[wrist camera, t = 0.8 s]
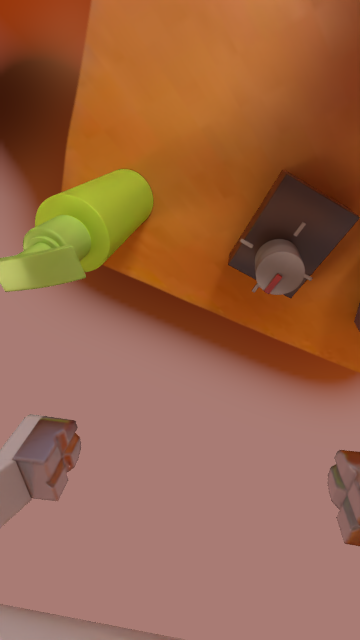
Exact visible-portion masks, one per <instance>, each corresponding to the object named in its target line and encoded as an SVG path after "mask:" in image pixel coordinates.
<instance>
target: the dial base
mask: <svg viewBox="0 0 360 640" xmlns="http://www.w3.org/2000/svg"><path fill="white" fill-rule="evenodd" d="M359 218H360V217H359V216H358V215H356V214H355V213H354V212H353V211H352V210H351V209H349V208H347V207H346V206H344V205H342V204H341V203H339V202H337V201H336V200H334V199H332V198H331V197H329V196H327V195H325V194H324V193H322V192H320V191H319V190H317V189H315V188H314V187H312V186H310V185H309V184H307V183H305V182H304V181H302V180H300V179H299V178H297V177H295V176H294V175H292V174H290V173H289V172H287V171H285V170H282V172H281V173H280V175H279V177H278V178H277V180H276V181H275V183H274V184H273V186H272V188H271V189H270V191H269V192H268V194H267V196H266V197H265V199H264V200H263V202H262V203H261V205H260V207H259V208H258V210H257V211H256V213H255V215H254V216H253V218H252V219H251V221H250V222H249V224H248V226H247V227H246V229H245V230H244V232H243V234H242V235H241V237H240V238H239V240H238V242H237V243H236V245H235V246H234V248H233V249H232V251H231V253H230V254H229V263H228V265H230V266H232V267H233V268H235V269H237V270H239V271H241V272H243V273H244V274H246V275H248V276H250V277H252V278H254V279H255V280H256V273H255V256H256V253H257V251H258V250H259V248H260V247H261V246H262V245H264V244H265V243H267V242H269V241H271V240H275V239H284V240H287V241H290V242H291V243H293V244H294V245H295V246H296V248H297V249H298V251H299V254H300V256H301V259H302V261H303V264H304V267H305V275H304V278H303V281H302V282H301V284H300V285H299V286H298V287H297V288H296V289H295V290H293V291H291V292H289V293H286V294H283V295H285V296H287V297H289V298H292V296H293V295H294V294H295V293H296V292H297V291H298V289H299V288H300V287H301V286H302V285H303V284H304V282H305V281H306V280H307V279H308V280H310V281H311V280H312V279H313V278H312V277H310V275H311V274H312V273H313V272H314V271H315V270H316V268H317V267H318V266H319V265H320V264H321V263H322V261H323V260H324V259H325V258H326V257H327V256H328V254H329V253H330V252H331V251H332V250H333V249H334V247H335V246H336V245H337V244H338V243H339V242H340V240H341V239H342V238H343V237H344V236H345V235H346V233H347V232H348V231H349V230H350V229H351V228H352V226H353V225H354V224H355V223H356V222H357V221H358V219H359ZM258 287H259V285H258V283H257V284H256V285H255V287H254V288H253V289H252V292H255V291H256V290H257V289H258Z"/></svg>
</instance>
